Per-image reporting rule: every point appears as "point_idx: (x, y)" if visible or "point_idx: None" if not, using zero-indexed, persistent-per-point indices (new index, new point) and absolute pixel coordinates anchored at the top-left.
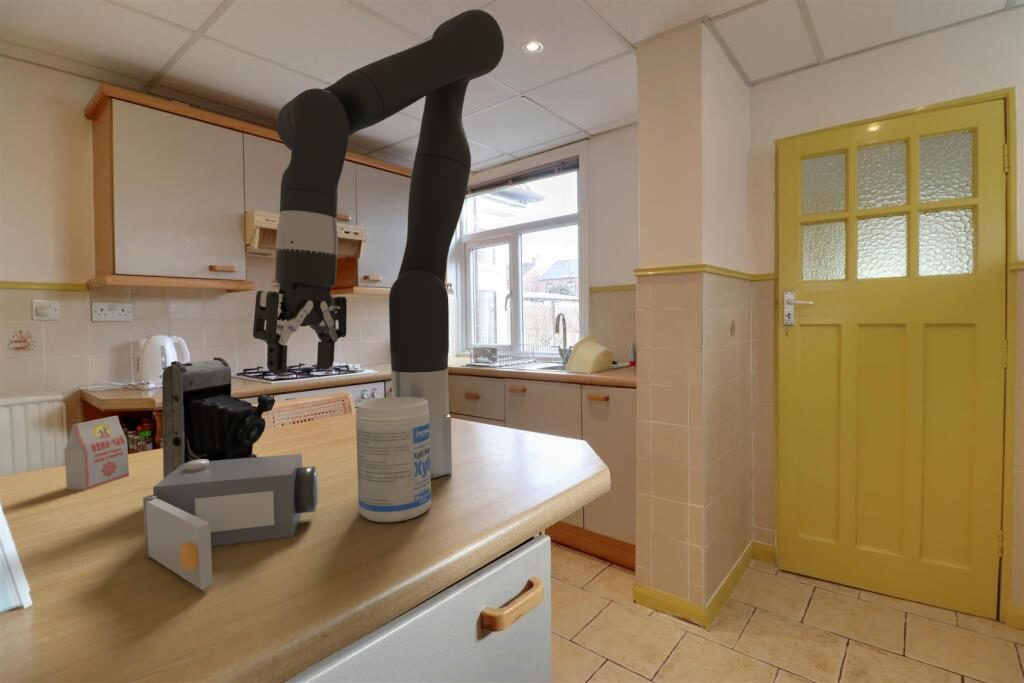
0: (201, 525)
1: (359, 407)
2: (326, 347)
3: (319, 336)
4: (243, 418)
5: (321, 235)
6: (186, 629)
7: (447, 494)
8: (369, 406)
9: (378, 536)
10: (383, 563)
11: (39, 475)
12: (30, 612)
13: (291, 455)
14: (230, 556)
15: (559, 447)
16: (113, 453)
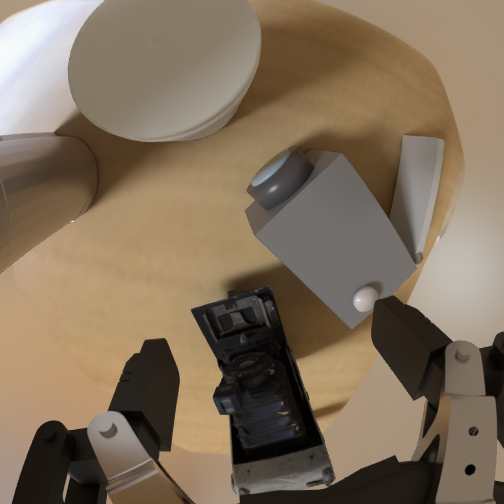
0: (442, 141)
1: (252, 72)
2: (153, 407)
3: (163, 468)
4: (266, 382)
5: None
6: (427, 111)
7: None
8: (244, 45)
9: (263, 61)
10: (307, 25)
11: None
12: (442, 226)
13: (270, 242)
14: (363, 173)
15: None
16: None
